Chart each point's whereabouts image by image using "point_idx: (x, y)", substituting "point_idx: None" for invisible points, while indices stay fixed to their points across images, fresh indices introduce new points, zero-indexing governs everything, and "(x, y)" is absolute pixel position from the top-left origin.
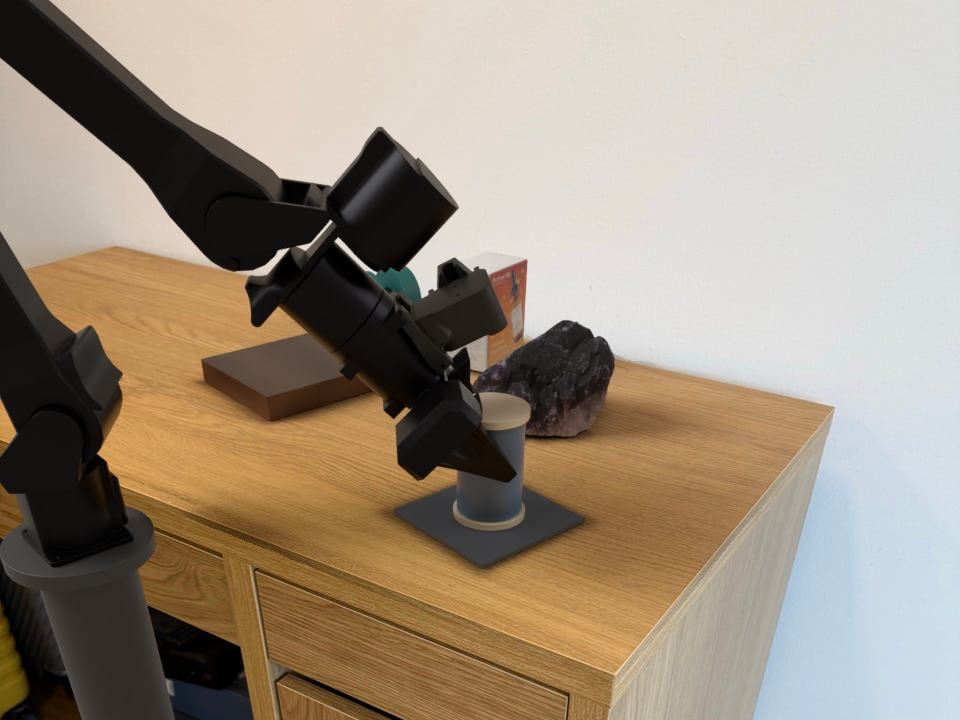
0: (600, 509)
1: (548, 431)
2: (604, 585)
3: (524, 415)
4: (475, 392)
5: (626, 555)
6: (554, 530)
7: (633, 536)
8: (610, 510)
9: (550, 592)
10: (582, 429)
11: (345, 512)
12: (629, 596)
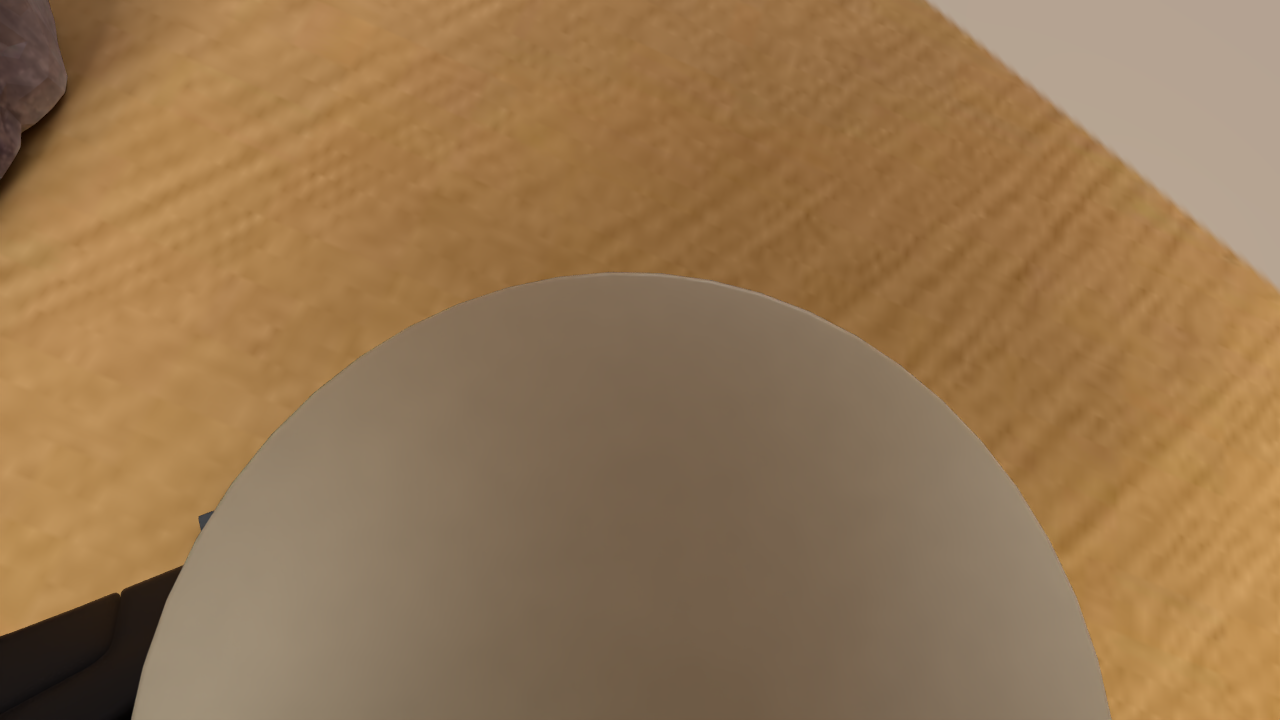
0: (670, 232)
1: (2, 147)
2: (1183, 437)
3: (956, 420)
4: (20, 710)
5: (997, 287)
6: None
7: (879, 214)
8: (687, 205)
9: (1228, 651)
10: (53, 27)
11: None
12: (1250, 389)
